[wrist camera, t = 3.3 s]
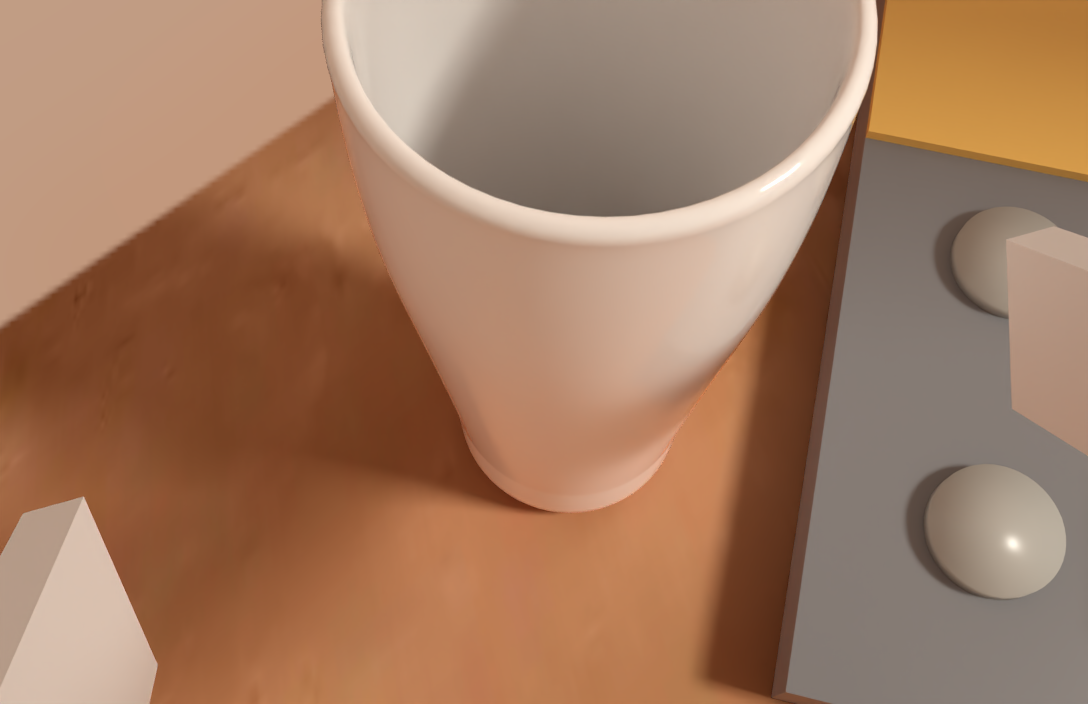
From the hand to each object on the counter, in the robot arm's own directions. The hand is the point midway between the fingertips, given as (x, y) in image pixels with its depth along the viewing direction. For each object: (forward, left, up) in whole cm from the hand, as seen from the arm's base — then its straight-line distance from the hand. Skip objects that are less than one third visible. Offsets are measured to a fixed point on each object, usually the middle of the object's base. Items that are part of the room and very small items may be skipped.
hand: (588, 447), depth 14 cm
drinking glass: (+1, -4, -11) cm, 12 cm away
